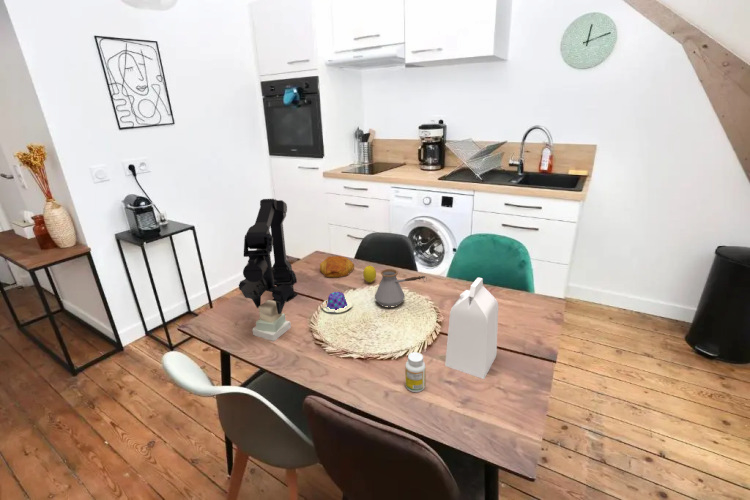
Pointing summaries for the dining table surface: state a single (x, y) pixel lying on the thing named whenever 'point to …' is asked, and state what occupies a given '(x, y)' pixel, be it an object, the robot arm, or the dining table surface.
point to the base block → (272, 335)
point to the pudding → (336, 300)
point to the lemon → (369, 274)
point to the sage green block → (271, 324)
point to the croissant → (336, 266)
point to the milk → (473, 331)
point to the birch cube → (269, 311)
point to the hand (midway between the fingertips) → (269, 310)
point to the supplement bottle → (415, 372)
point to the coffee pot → (391, 288)
